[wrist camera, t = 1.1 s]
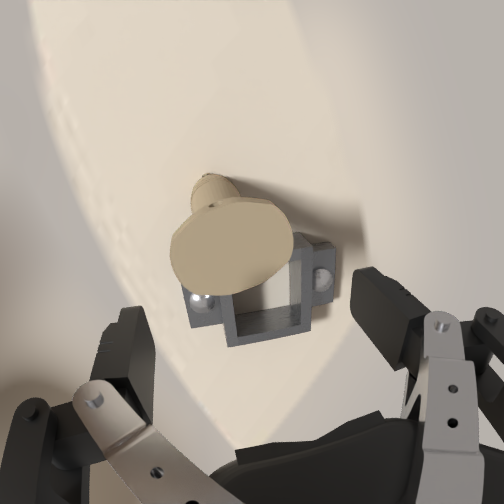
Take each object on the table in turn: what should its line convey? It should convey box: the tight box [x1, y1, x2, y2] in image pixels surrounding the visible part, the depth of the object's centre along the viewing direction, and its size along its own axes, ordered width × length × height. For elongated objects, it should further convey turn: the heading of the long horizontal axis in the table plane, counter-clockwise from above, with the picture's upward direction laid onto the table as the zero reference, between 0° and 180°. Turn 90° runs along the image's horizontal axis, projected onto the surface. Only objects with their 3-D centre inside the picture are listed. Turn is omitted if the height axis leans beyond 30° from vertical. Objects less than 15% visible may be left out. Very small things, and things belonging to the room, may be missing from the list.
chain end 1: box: [181, 239, 301, 347], centre depth 32 cm, size 10×12×4 cm
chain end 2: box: [235, 232, 336, 345], centre depth 33 cm, size 10×12×4 cm
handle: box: [170, 173, 293, 296], centre depth 22 cm, size 5×6×15 cm
